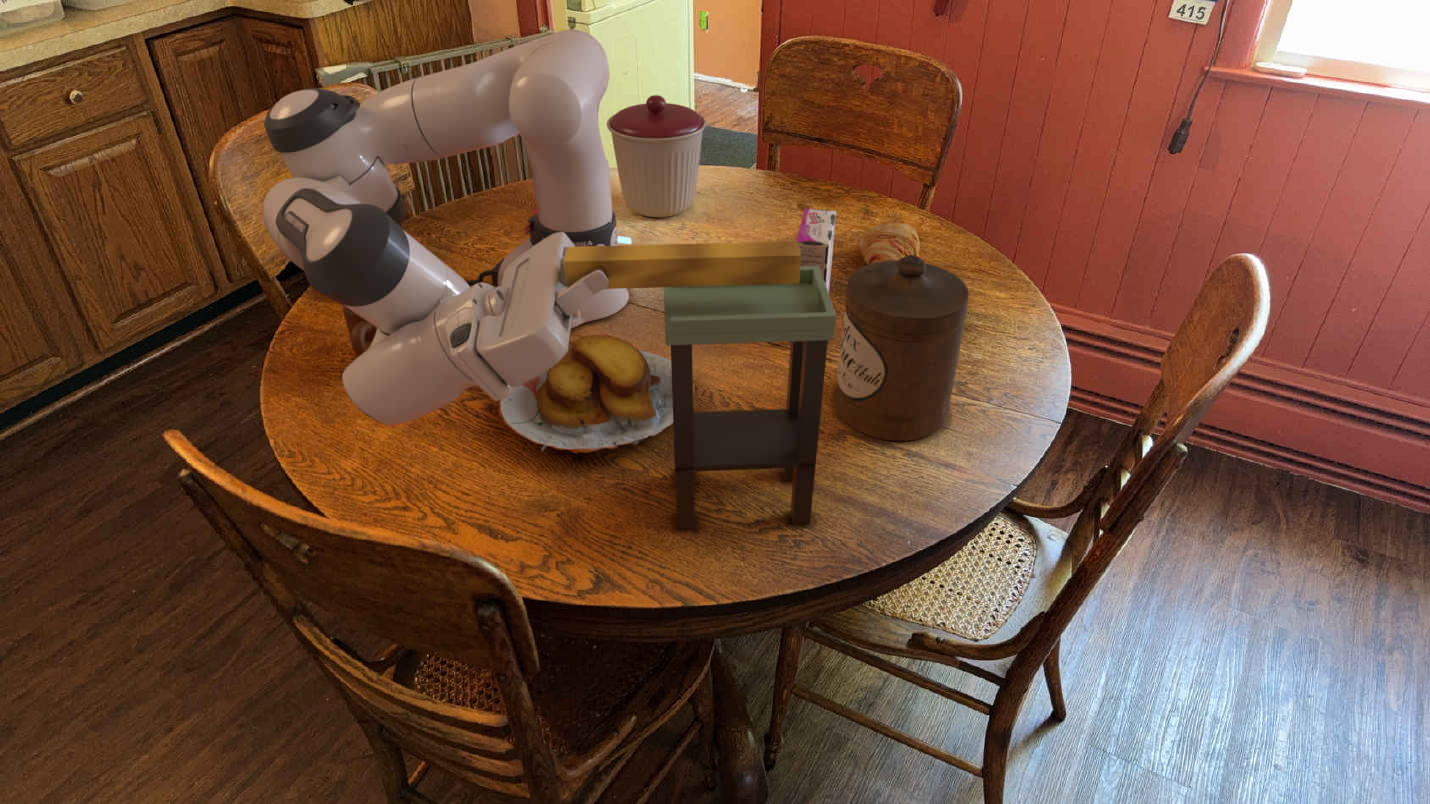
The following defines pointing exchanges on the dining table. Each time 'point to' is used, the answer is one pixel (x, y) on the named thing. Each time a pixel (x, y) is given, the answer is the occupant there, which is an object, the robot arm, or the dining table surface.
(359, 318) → the mug
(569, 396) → the food on plate
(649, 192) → the canister
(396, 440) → the dining table surface
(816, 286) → the stand
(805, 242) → the candy bar box
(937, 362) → the wooden container
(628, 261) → the batten
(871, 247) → the croissant
